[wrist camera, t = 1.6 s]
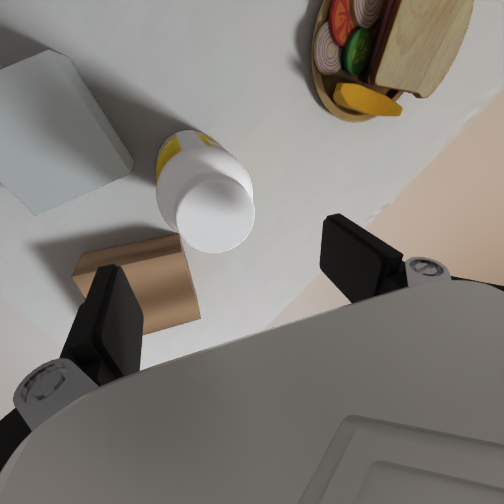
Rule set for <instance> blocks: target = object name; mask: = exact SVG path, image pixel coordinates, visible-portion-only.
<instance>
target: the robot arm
mask: <svg viewBox="0 0 504 504" xmlns="http://www.w3.org/2000/svg"><path fill="white" fill-rule="evenodd" d="M402 258H403V254H402V253H401V252H399V251H397V250H396V249H394V248H393V247H391V246H390V245H388V244H386V243H385V242H383V241H382V240H380V239H379V238H377V237H375V236H374V235H372V234H371V233H369V232H368V231H366V230H365V229H363V228H362V227H360V226H358V225H357V224H355V223H354V222H352V221H351V220H349V219H348V218H346V217H344V216H343V215H341V214H334V215H329V216H327V218H326V219H325V220H324V221H323V231H322V242H321V254H320V268H321V270H322V271H323V273H324V274H325V275H326V276H327V277H328V278H329V279H330V280H331V281H332V282H333V283H334V284H335V285H336V287H337V288H338V289H339V290H340V291H341V292H342V293H343V294H344V295H345V296H346V297H347V298H348V299H349V300H350V302H351V303H352V304H348V305H345V306H342V307H338V308H335V309H332V310H329V311H325V312H323V313H319V314H316V315H312V316H309V317H306V318H303V319H300V320H296V321H294V322H290V323H287V324H284V325H280V326H277V327H274V328H271V329H268V330H265V331H261V332H258V333H255V334H252V335H249V336H245V337H242V338H239V339H236V340H233V341H230V342H227V343H223V344H220V345H217V346H214V347H211V348H208V349H205V350H201V351H198V352H195V353H192V354H189V355H186V356H183V357H180V358H177V359H174V360H170V361H167V362H164V363H161V364H158V365H155V366H152V367H150V368H147V369H144V370H141V371H140V359H141V347H142V335H143V323H144V316H143V312H142V310H141V307H140V305H139V303H138V301H137V299H136V297H135V294H134V292H133V290H132V288H131V286H130V284H129V282H128V279H127V277H126V275H125V273H124V271H123V269H122V267H121V266H116V265H115V264H109V265H105V266H100V267H98V268H97V271H96V273H95V276H94V279H93V281H92V284H91V287H90V289H89V292H88V294H87V297H86V300H85V302H84V303H83V304H81V306H80V307H79V310H78V312H77V315H76V317H75V320H74V322H73V325H72V327H71V330H70V332H69V335H68V337H67V340H66V342H65V345H64V347H63V350H62V353H61V355H60V358H59V359H55V360H51V361H49V362H47V363H44V364H42V365H41V366H39V367H38V368H36V369H35V370H33V371H32V372H31V373H30V374H28V375H27V376H26V377H25V378H24V379H23V381H22V382H21V383H20V384H19V386H18V387H17V389H16V391H15V393H14V397H13V402H14V405H15V407H16V408H15V409H13V410H12V411H11V412H10V413H9V414H7V415H6V416H5V417H4V418H3V419H1V420H0V504H504V286H500V285H495V284H490V283H484V282H479V281H474V280H469V279H463V278H458V277H453V276H450V274H449V271H448V269H447V268H446V267H445V266H444V265H443V264H441V263H440V262H438V261H435V260H433V259H429V258H425V257H412V258H410V259H408V260H407V261H406V262H404V261H402Z"/></svg>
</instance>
